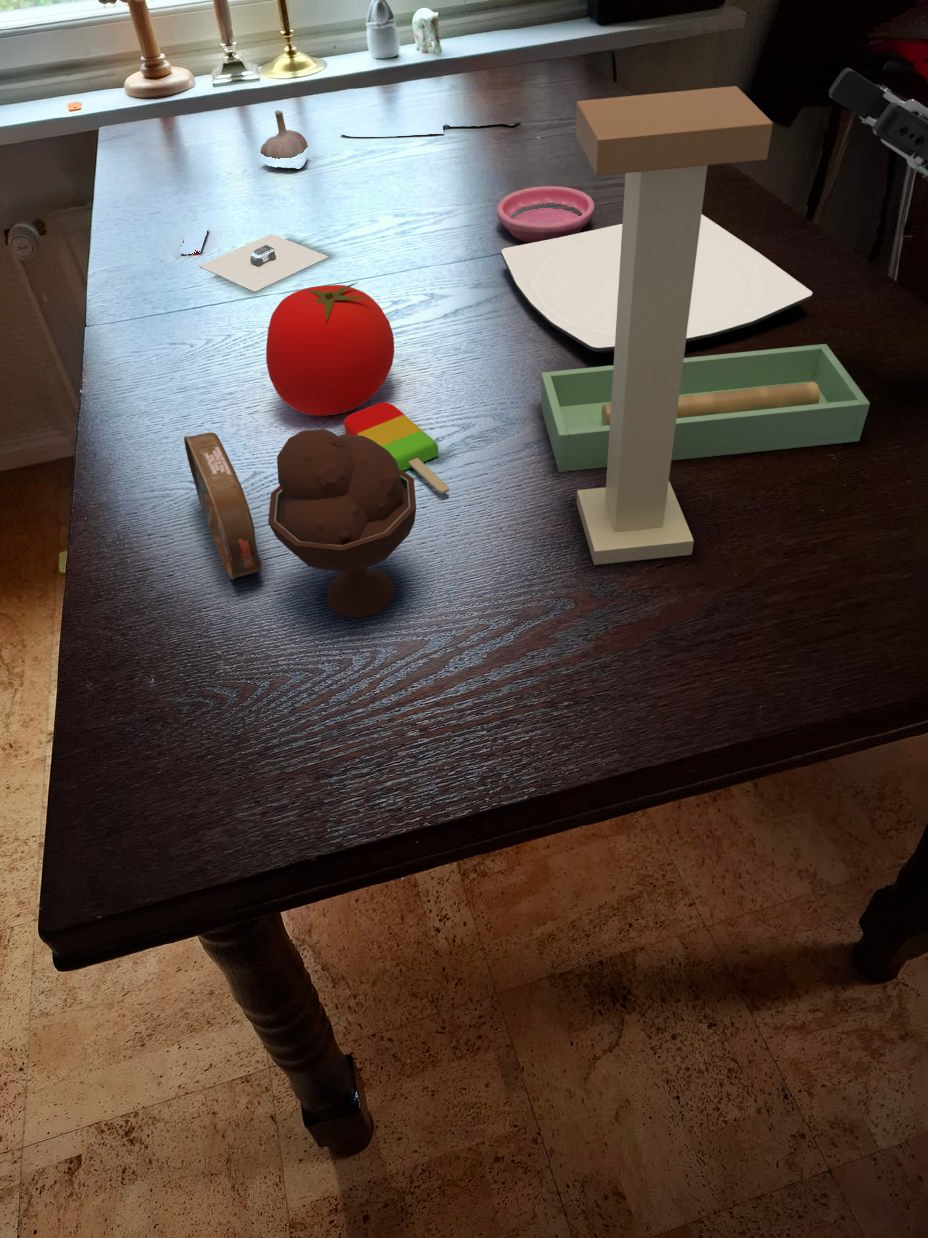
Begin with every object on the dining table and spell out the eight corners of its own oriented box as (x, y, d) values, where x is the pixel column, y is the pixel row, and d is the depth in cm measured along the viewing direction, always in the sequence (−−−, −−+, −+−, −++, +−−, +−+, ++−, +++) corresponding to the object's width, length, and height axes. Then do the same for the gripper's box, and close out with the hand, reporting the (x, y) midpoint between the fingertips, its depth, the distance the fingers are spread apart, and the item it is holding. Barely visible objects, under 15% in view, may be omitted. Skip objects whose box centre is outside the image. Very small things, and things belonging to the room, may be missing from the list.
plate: (486, 268, 112) (485, 247, 111) (693, 222, 118) (695, 201, 116) (586, 381, 93) (587, 357, 91) (827, 320, 99) (833, 296, 97)
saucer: (597, 246, 115) (598, 221, 113) (497, 251, 116) (497, 226, 113) (589, 206, 124) (590, 182, 121) (497, 211, 124) (496, 187, 122)
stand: (679, 493, 80) (734, 82, 57) (704, 553, 74) (776, 125, 51) (565, 504, 80) (574, 97, 57) (581, 566, 74) (599, 142, 51)
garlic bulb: (313, 171, 139) (303, 114, 133) (265, 178, 138) (253, 120, 133) (308, 154, 144) (298, 98, 139) (262, 161, 144) (250, 105, 138)
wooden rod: (808, 403, 88) (810, 378, 87) (818, 410, 86) (821, 385, 84) (601, 426, 87) (601, 401, 86) (607, 434, 85) (606, 408, 84)
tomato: (247, 409, 93) (219, 303, 85) (343, 352, 100) (325, 248, 92) (331, 450, 87) (310, 340, 79) (427, 386, 94) (416, 279, 86)
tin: (197, 498, 83) (170, 419, 77) (231, 488, 84) (207, 409, 78) (237, 601, 74) (210, 519, 68) (275, 589, 74) (252, 507, 68)
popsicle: (390, 413, 91) (388, 397, 90) (472, 487, 82) (471, 470, 81) (341, 433, 89) (338, 416, 88) (419, 511, 80) (417, 494, 79)
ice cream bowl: (348, 665, 68) (311, 506, 57) (267, 591, 74) (220, 435, 63) (456, 595, 72) (441, 435, 62) (371, 531, 79) (344, 375, 68)
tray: (817, 380, 91) (826, 343, 88) (859, 441, 83) (870, 403, 81) (541, 408, 90) (541, 372, 87) (558, 472, 83) (559, 435, 80)
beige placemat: (198, 265, 118) (195, 254, 117) (271, 233, 124) (269, 222, 123) (254, 291, 112) (251, 279, 111) (329, 256, 118) (327, 244, 117)
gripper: (998, 117, 76) (856, 20, 70) (1097, 181, 66) (941, 74, 60) (930, 202, 81) (792, 117, 75) (1013, 273, 71) (861, 182, 65)
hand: (859, 98), depth 68 cm, fingers open, 8 cm apart
